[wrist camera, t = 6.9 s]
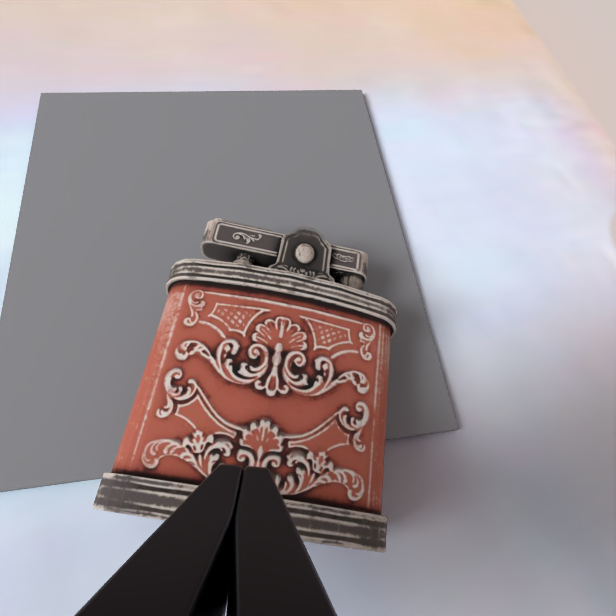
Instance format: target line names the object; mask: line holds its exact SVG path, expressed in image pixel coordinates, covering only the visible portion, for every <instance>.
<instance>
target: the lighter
mask: <svg viewBox="0 0 616 616" xmlns="http://www.w3.org/2000/svg"><path fill="white" fill-rule="evenodd" d="M271 231H272V229H267V228H263V227H258V226H253V225H249V224H244V223H239V222H235V221H230V220H225V219H220V218H215V219H214V220H211V221H209V222H208V223H207V226H206V229H205V232H204V236H203V239H202V242H201V246H200V249H201V253H202V255H203V256H204V257H206V258H208V259H211V260H203V259H183V260H180V261H177V262H176V263H175V264H174V265H173V266H172V268H171V271H170V274H169V277H168V280H167V283H166V290H165V292H166V293H167V295H168V298H167V301H166V304H165V308H164V311H163V314H162V317H161V320H160V323H159V326H158V329H157V332H156V335H155V339H154V342H153V345H152V348H151V351H150V354H149V357H148V360H147V363H146V366H145V369H144V373H143V376H142V379H141V382H140V385H139V388H138V391H137V394H136V397H135V400H134V404H133V407H132V410H131V413H130V416H129V419H128V422H127V425H126V428H125V431H124V434H123V438H122V441H121V444H120V447H119V450H118V453H117V456H116V459H115V462H114V465H113V468H112V472H111V473H104V474H103V477H102V480H101V483H100V486H99V489H98V492H97V495H96V498H95V501H94V504H93V507H92V508H94V509H99V510H104V511H110V512H116V513H122V514H129V515H135V516H141V517H148V518H154V519H161V520H166V519H167V518H168V517H169V516H170V515H171V514H172V513H173V512H174V511H175V510H176V509H177V508H178V507H179V506H180V505H181V504H182V503H183V502H184V501H185V500H186V498H187V497H188V496H189V495H190V494H191V493H192V492H193V491H194V490H195V489H196V488H197V487H198V486H199V485H200V484H201V483H202V482H203V481H204V480H205V479H206V478H207V476H208V475H209V474H210V473H211V472H212V471H213V470H214V469H215V468H216V467H217V466H218V465H220V464H230V465H240V466H242V467H243V471H244V468H245V467H247V466H255V467H266V468H268V469H269V470H270V472H271V474H272V476H273V479H274V481H275V483H276V485H277V487H278V489H279V491H280V494H281V496H282V498H283V500H284V502H285V504H286V506H287V509H288V511H289V513H290V515H291V517H292V519H293V522H294V524H295V526H296V528H297V530H298V532H299V534H300V537H301V539H302V541H306V542H313V543H320V544H327V545H334V546H341V547H348V548H355V549H362V550H369V551H376V552H385V550H386V529H387V517H384V516H381V503H382V485H383V466H384V448H385V429H386V411H387V392H388V374H389V355H390V338H392V337H393V336H394V334H395V332H396V321H397V311H396V307H395V305H394V304H393V303H392V302H391V301H389V300H387V299H385V298H383V297H380V296H377V295H374V294H371V293H367V292H364V291H363V285H364V284H365V282H366V278H367V266H368V255H367V254H366V253H364V252H362V251H359V250H354V249H350V248H345V247H340V246H336V245H331V244H329V243H328V242H327V241H326V240H325V238H324V236H323V234H322V233H321V232H319V231H318V230H316V229H313V228H309V227H304V226H303V227H297V228H295V229H294V230H293V231H292V232H291V233H288V234H285V235H284V234H280V233H275V232H271ZM213 260H214V261H213Z"/></svg>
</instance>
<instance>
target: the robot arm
mask: <svg viewBox="0 0 616 616" xmlns="http://www.w3.org/2000/svg"><path fill="white" fill-rule="evenodd" d="M227 601H228V602H227ZM226 607H227V614H226V616H337V614H336V612H335V610H334V608H333V606H332V603H331V601H330V599H329V597H328V595H327V593H326V590H325V588H324V586H323V584H322V582H321V580H320V578H319V575H318V573H317V571H316V569H315V567H314V565H313V562H312V560H311V558H310V556H309V554H308V552H307V550H306V547H305V545H304V543H303V541H302V539H301V537H300V534H299V532H298V530H297V528H296V526H295V524H294V522H293V519H292V517H291V515H290V513H289V511H288V509H287V506H286V504H285V502H284V500H283V498H282V496H281V494H280V491H279V489H278V487H277V485H276V483H275V481H274V479H273V476H272V474H271V472H270V470H269V469H268V468H266V467H255V466H247V467H245V468H244V471H243V467H242V466H240V465H230V464H220V465H218V466H217V467H216V468H215V469H214V470H213V471H212V472H211V473H210V474H209V475H208V476H207V478H206V479H205V480H204V481H203V482H202V483H201V484H200V485H199V486H198V487H197V488H196V489H195V490H194V491H193V492H192V493H191V494H190V495H189V496H188V497H187V498H186V500H185V501H184V502H183V503H182V504H181V505H180V506H179V507H178V508H177V509H176V510H175V511H174V512H173V513H172V514H171V515H170V516H169V517H168V518H167V519H166V520H165V521H164V523H163V524H162V525H161V526H160V527H159V528H158V529H157V530H156V531H155V532H154V533H153V534H152V535H151V536H150V537H149V538H148V539H147V540H146V541H145V542H144V543H143V544H142V546H141V547H140V548H139V549H138V550H137V551H136V552H135V553H134V554H133V555H132V556H131V557H130V558H129V559H128V560H127V561H126V562H125V563H124V564H123V565H122V566H121V567H120V569H119V570H118V571H117V572H116V573H115V574H114V575H113V576H112V577H111V578H110V579H109V580H108V581H107V582H106V583H105V584H104V585H103V586H102V587H101V588H100V589H99V590H98V591H97V593H96V594H95V595H94V596H93V597H92V598H91V599H90V600H89V601H88V602H87V603H86V604H85V605H84V606H83V607H82V608H81V609H80V610H79V611H78V612H77V613H76V614H75V616H225V613H226Z"/></svg>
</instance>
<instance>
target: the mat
mask: <svg viewBox="0 0 616 616" xmlns="http://www.w3.org/2000/svg"><path fill="white" fill-rule="evenodd" d="M215 218H220V219H225V220H230V221H235V222H239V223H244V224H249V225H253V226H258V227H263V228H267V229H272V231H271V232H275V233H280V234H284V235H285V234H288V233H291V232H292V231H293V230H294V229H295V228H297V227H303V226H304V227H309V228H313V229H316V230H318V231H319V232H321V233H322V234H323V236H324V238H325V240H326V241H327V242H328V243H329V244H331V245H336V246H340V247H345V248H350V249H354V250H359V251H362V252H364V253H366V254H367V255H368V266H367V278H366V282H365V284H364V285H363V291H364V292H367V293H371V294H374V295H377V296H380V297H383V298H385V299H387V300H389V301H391V302H392V303H393V304H394V305H395V307H396V311H397V321H396V332H395V334H394V336H393V337H392V338H390V355H389V374H388V392H387V411H386V429H385V440H387V439H395V438H402V437H409V436H417V435H424V434H432V433H439V432H446V431H454V430H457V429H459V428H458V425H457V421H456V418H455V414H454V411H453V407H452V404H451V400H450V397H449V393H448V390H447V386H446V383H445V379H444V376H443V372H442V369H441V365H440V362H439V358H438V355H437V351H436V348H435V344H434V341H433V337H432V334H431V331H430V327H429V324H428V320H427V317H426V313H425V310H424V306H423V303H422V299H421V296H420V292H419V289H418V285H417V282H416V278H415V275H414V271H413V268H412V264H411V261H410V257H409V254H408V250H407V247H406V243H405V240H404V236H403V233H402V229H401V226H400V223H399V219H398V216H397V212H396V209H395V205H394V202H393V198H392V195H391V191H390V188H389V184H388V181H387V177H386V174H385V170H384V167H383V163H382V160H381V156H380V153H379V149H378V146H377V142H376V139H375V135H374V132H373V128H372V125H371V121H370V118H369V115H368V111H367V108H366V104H365V101H364V97H363V94H362V90H307V91H205V92H102V93H41V97H40V102H39V108H38V113H37V119H36V124H35V130H34V135H33V141H32V146H31V152H30V158H29V163H28V169H27V174H26V180H25V185H24V191H23V196H22V202H21V207H20V213H19V218H18V224H17V229H16V235H15V241H14V246H13V252H12V257H11V263H10V268H9V274H8V279H7V285H6V290H5V296H4V301H3V307H2V313H1V318H0V492H5V491H12V490H20V489H27V488H35V487H42V486H49V485H57V484H64V483H71V482H79V481H86V480H93V479H101V478H102V477H103V474H104V473H111V472H112V468H113V465H114V462H115V459H116V456H117V453H118V450H119V447H120V444H121V441H122V438H123V434H124V431H125V428H126V425H127V422H128V419H129V416H130V413H131V410H132V407H133V404H134V400H135V397H136V394H137V391H138V388H139V385H140V382H141V379H142V376H143V373H144V369H145V366H146V363H147V360H148V357H149V354H150V351H151V348H152V345H153V342H154V339H155V335H156V332H157V329H158V326H159V323H160V320H161V317H162V314H163V311H164V308H165V304H166V301H167V298H168V295H167V293H166V292H165V290H166V283H167V280H168V277H169V274H170V271H171V268H172V266H173V265H174V264H175V263H176V262H177V261H180V260H183V259H203V260H211V259H208V258H206V257H204V256H203V255H202V253H201V249H200V246H201V242H202V239H203V236H204V232H205V229H206V226H207V223H208V222H209V221H211V220H214V219H215ZM213 261H214V260H213Z"/></svg>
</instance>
